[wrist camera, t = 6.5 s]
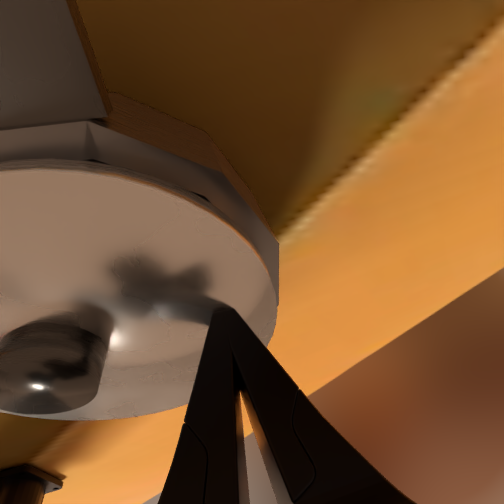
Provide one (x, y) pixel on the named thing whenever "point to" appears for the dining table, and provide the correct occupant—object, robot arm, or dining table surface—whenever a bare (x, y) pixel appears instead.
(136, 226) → the lid
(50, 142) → the pot
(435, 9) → the dining table surface
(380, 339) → the dining table surface
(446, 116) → the dining table surface
